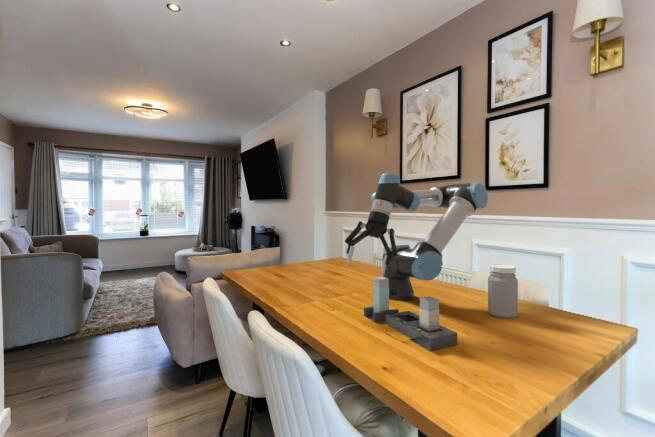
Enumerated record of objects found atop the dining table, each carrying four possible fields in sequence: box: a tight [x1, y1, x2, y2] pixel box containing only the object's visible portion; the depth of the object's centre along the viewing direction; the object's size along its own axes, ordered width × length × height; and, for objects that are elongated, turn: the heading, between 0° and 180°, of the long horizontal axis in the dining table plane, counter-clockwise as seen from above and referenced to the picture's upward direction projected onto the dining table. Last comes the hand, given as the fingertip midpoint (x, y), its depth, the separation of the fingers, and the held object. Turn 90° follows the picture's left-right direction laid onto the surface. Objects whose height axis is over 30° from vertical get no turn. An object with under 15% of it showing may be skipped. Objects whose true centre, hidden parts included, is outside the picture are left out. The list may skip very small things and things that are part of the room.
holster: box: [363, 305, 400, 324], centre depth 114 cm, size 10×8×4 cm
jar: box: [487, 263, 519, 320], centre depth 117 cm, size 10×10×18 cm
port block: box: [384, 295, 458, 352], centre depth 100 cm, size 10×22×12 cm, turn 24°
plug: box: [372, 276, 390, 312], centre depth 114 cm, size 4×4×14 cm
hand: (364, 268), depth 116 cm, fingers open, 13 cm apart
